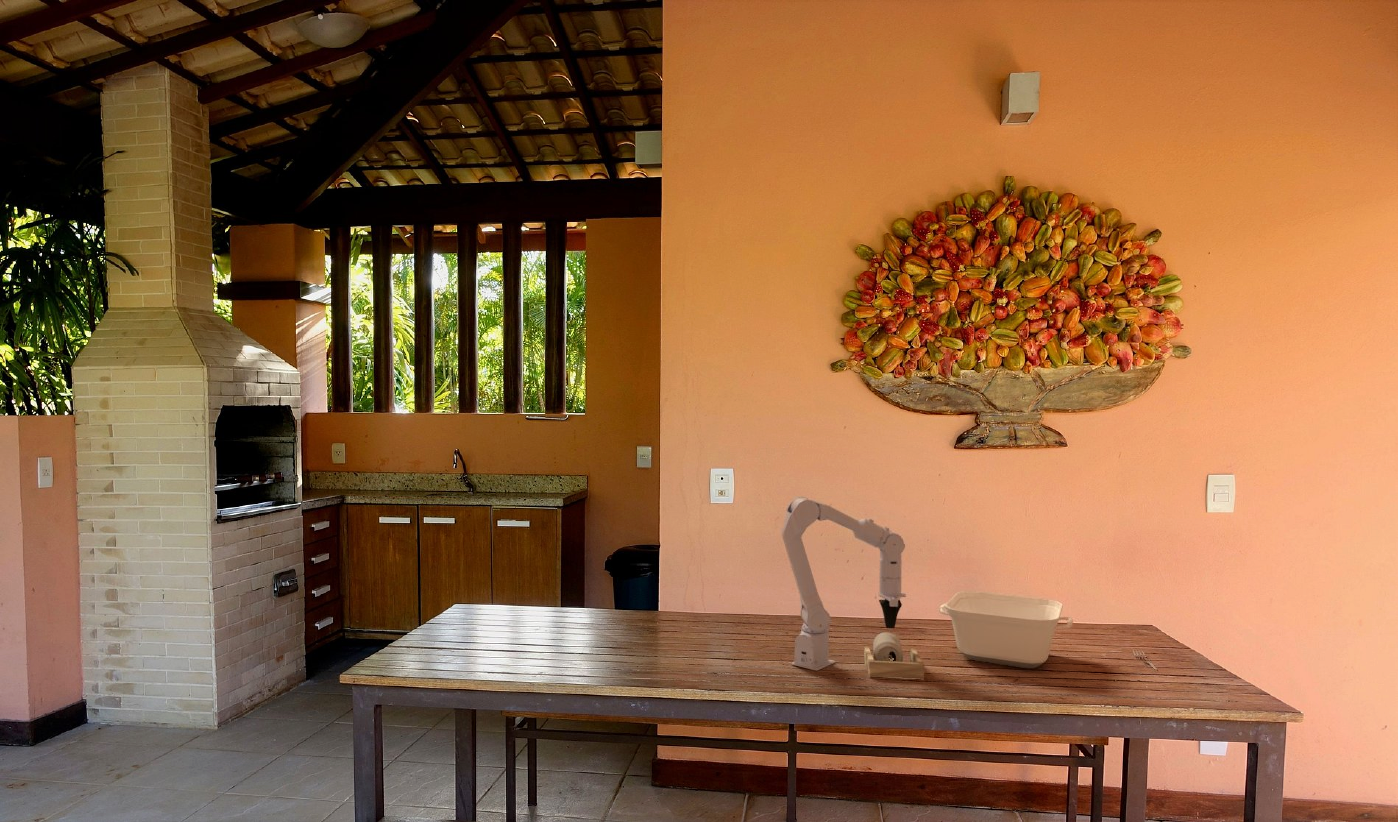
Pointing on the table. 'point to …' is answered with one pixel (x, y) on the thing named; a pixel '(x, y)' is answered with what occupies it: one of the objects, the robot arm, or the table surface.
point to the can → (887, 647)
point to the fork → (1145, 656)
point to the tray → (894, 666)
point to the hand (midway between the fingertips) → (890, 627)
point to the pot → (1004, 627)
